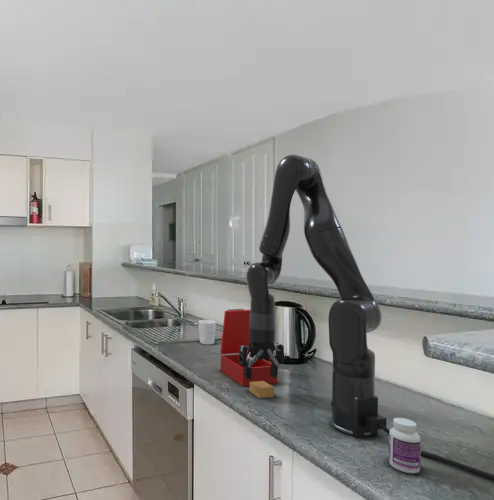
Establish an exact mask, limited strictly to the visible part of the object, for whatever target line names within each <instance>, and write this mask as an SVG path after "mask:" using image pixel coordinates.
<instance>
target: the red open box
mask: <svg viewBox="0 0 494 500" xmlns="http://www.w3.org/2000/svg"><path fill="white" fill-rule="evenodd" d="M248 354H249V353H247V356H248ZM252 358H253V356H252ZM246 359H247V358H246ZM270 364H272V363H271V362H270V361H267V360H265V359H261V360H258V359H257V361H256V362H255V363H254V364H253V365H252V366H251V368H252V378H251V380H248V379H247V378H246V377H245V375H244V368H245V367H244V366H242V365H241V364H239V353H234V354H220V372H221V373H223V374H224V375H226V376H227V377H229V378H230V379H231V380H233V381H234V382H236V383H238V384H239V385H240V386H242V387H250V382H256V381H265V382H266V383H268V384H270V385H273V384H277V383H278V375H277V376H276V378H273V377H271V376H270Z"/></svg>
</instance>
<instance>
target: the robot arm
mask: <svg viewBox="0 0 494 500" xmlns="http://www.w3.org/2000/svg"><path fill="white" fill-rule="evenodd" d="M273 178H274V179H273V184H272V185H273V186H272V191H271V199H270V204H269V211H268V216H267V220H266V224H265V227H264V230H263V234H262V237H261V240H260V243H259V247H258V251H259V253H261V254H262V257H261V261H259V262H254V263H252V264H250V265H249V267H248V268H247V271H246V285H247V288H248V293H249V296H250V310H251V311H250V319H249V341H250V344H249V346H243V345H240V348H239V353H238V354H239V364H241V365H242V366H244V367H245V368H244V375H245V377H246V378H247V379H248V380H251V378H252V368H251V366H252V365H253V364H254V363H255V362H256V361H257V359H258V360H261V359H264V360H265V359H269V362H270V363H272V364H270V376H271V377H273V378H276V376H277V377H278V374H279V365H281V364H282V365H284V364H285V362H284V354H285V347H284V345H283V344H282V343H279V342H276V343H275V341H276V316H275V308H276V307H275V305H276V303H275V301H276V300H275V299H276V298H275V295H274V294H272V293H270V290H269V285H272V284H274V283H275V282H276V281H278V279H279V278H280V275H281V272H282V267H283V254H284V250H285V248H286V246H287V242H288V239H289V236H290V232H291V204H292V200H293V197H294V194H295V192H296V194H297V195H298V197H299V200H300V201H301V204H302V207H303V215H304V216H303V217H304V218H303V234H304V238H305V241H306V244H307V246H308V249H309V251H310V253H311V255H312V258H313V259H314V260H315V262H316V263H317V265H319V267H320V268H321V269H322V270H323V271H324V272H325V274H326V275H327V276H328V277H329V278H330V279H331V280H332V282H333V284H334V285H335V287H336V289H337V291H338V294H339V297H340V298H339V299H337V300H335V301H334V302H333V303H332V304H331V306H330V308H329V311H328V339H329V340H328V341H329V342H328V343H329V348H330V350H331V352H332V375H331V376H332V378H331V379H332V383H331V385H332V386H331V387H332V388H331V391H332V392H331V401H330V406H331V425H332V427H333V428H334V429H335V430H337V431H339V432H342V433H343V434H347V435H351V436H354V437H355V438H364V437H371V436H378V435H379V434H378V432H379V431H378V430H382V431H384V432H385V433H386V434H387V435H388V436H389V431H390V429H389V428H388V427H387V420H388V419H387V418H386V417H385V416H383V415H381V414H379V397H378V396H377V395H376V394H375V391H376V390H375V387H376V386H375V385H376V383H375V381H376V354H375V352H374V351H373V350H372V349H370V348H369V346H368V337H367V336H368V335H367V333H371V332H374V331H376V330H377V329H378V328H379V327H380V325H381V324H382V311H381V309H380V306H379V304H378V302H377V300H376V299H375V297H374V295H373V294H372V292H371V290H370V288H369V287H368V285H367V282H366V281H365V279H364V277H363V275H362V274H361V271H360V269H359V266H358V263H357V261H356V258H355V256H354V254H353V252H352V249H351V247H350V244H349V242H348V239H347V237H346V234H345V232H344V229H343V227H342V225H341V223H340V221H339V218H338V217H337V214H336V212H335V210H334V207H333V204H332V203H331V201H330V200H331V199H330V198H329V195H328V192H327V189H326V185H325V183H324V179H323V175H322V172H321V169H320V166H319V164H318V163H317V162H316V161H315V160H313V159H312V158H309V157H305V156H302V155H298V154H288V155H287V156H284V157H283V158H282V159H281V160H280V161H279V162H278V164H277V166H276V169H275V174H274V177H273ZM274 350H276V358H275V356H274V355H273V351H274ZM248 351H250V352H249V353H248ZM247 354H248V356H247ZM252 356H253V358H252ZM246 358H247V359H246ZM420 457H425V458H429V459H433V460H436V461H439V462H441V463H444V464H448V465H450V466H453V467H456V468H459V469H461V470H465V471H467V472H470V473H473V474H476V475H478V476H481V477H484V478H486V479H489V480H492V481H494V474H492V473H489V472H488V471H487V472H486V471H484V470H481V469H478V468H475V467H472V466H471V465H466V464H464V463H461V462H458V461H455V460H452V459H449V458H447V457H444V456H440V455H438V454H435V453H431V452H427V451H423V450H420Z"/></svg>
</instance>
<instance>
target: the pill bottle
mask: <svg viewBox="0 0 494 500" xmlns="http://www.w3.org/2000/svg"><path fill="white" fill-rule="evenodd" d="M392 425H393V427H391V428H390V429H389V430H390V431H389V435H388V436H389V437H388V462H389V464H390V466H391V467H393V468H394V469H395V470H397V471H400V472H402V473H406V474H418V473H419V472H420V471H421V455H420V451H421V445H422V444H421V443H422V442H421V436H420V435H419V434H418V432H417V430H418V429H417V427H418V425H417V423H416V422H415V421H413V420H412V419H408V418H403V417H394V418H393V419H392Z"/></svg>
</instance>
